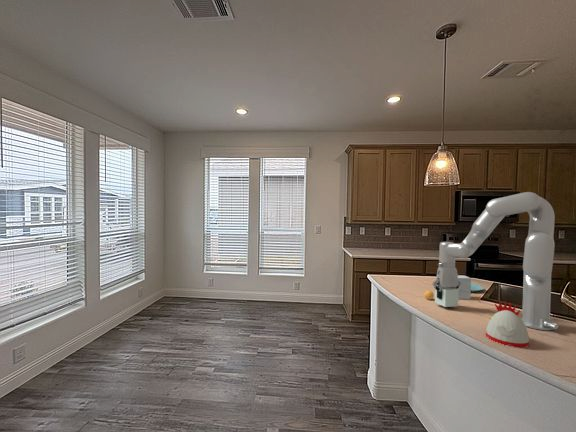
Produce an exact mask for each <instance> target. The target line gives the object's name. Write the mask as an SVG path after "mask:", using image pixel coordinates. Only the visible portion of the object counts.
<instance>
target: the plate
mask: <svg viewBox="0 0 576 432" xmlns="http://www.w3.org/2000/svg"><path fill="white" fill-rule="evenodd" d="M484 290H485V287H484V286H482V285H480V284H477V283H474V282H471V293H477V292H480V291H484Z"/></svg>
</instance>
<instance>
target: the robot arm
mask: <svg viewBox="0 0 576 432" xmlns="http://www.w3.org/2000/svg"><path fill="white" fill-rule="evenodd" d="M526 212H527V214H528V216H529V222H528V234H527V237H526V238H525V243H524V252H523V260H522V270H523V277H522V278H523V282H522V284H523V285H522V306H521V307H522V313H521V317H520V318H521V320H522V321H523V323H524V324H525V326H526V328H529V329H534V330H537V331H538V330H540V331H553V330H557V329H558V328H559V326H560V325H559V323H555V322H554V321H553V318H551V300H552V299H551V297H552V296H551V294H552V272H553V265H554V256H555V255H554V254H555V240H554V236H555V235H554V234H555V211H554V208H553V206H552V204H550V202H549V201H547V199H545V198H543V197H541V196H539V195H538V194H537V193H535V192H531V191H526V192H525V191H524V192H520V193H517V194H511V195H507V196H503V197H498V198H497V197H496V198H493V199H491V200H489V201H488V202H487V204H486V205H485V209H484V210H483V211H482V212H481V214H480V215H479V216H478V217H477V219H476V220H475V221H474V222H473V224H472V225H471V229H470V231H469V233H468V234H467V236H466V237H465V238H464V239H463V240H462V242H459V243H458V242H457V243H455V242H452V241H440V242H439V253H438V255H439V258H438V262H439V263H437V266H438V267H437V270H436V271H437V272H436V279H435V280H434V281H433V282H432V283H431V284H432V286H433V288H434V290H435V289H436V290H437V298H439V299H442V292H441V290H442V289H443V287H444V288H447V287H452V288H455V289H458V288H459V286H460V284H461V282H459V281H458V275H459V274H458V270H457V268H456V258H460V259H466V258H469V257H470V256H472V255H473V254H474V253H475V252H476V251H477V250H478V248H479V247H480V246H481V245H482V244H483V242H485V240H486V239H487V238H488V237H489V236H490V235H491V233H492V232H493V231H494V230H495V229H496V228H497V226H498V225H499V224H500V222H501V221H502V220H503V219H504V218H505V217H506V216H511V215H515V214H517V215H518V214H522V213H526Z"/></svg>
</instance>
